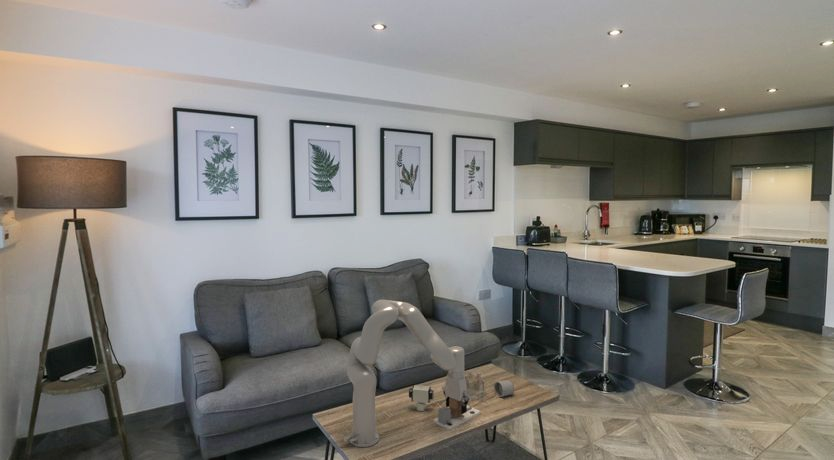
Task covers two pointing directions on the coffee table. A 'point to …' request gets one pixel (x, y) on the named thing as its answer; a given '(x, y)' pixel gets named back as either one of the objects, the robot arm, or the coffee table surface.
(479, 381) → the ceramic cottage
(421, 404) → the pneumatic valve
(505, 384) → the ceramic mug
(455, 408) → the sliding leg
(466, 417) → the board
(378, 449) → the coffee table surface
